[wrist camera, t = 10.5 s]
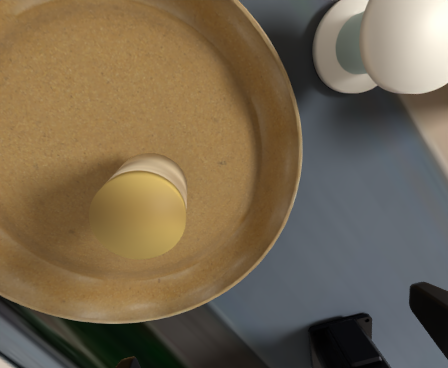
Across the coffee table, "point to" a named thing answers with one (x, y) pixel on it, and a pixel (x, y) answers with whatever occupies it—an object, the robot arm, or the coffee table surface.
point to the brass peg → (141, 207)
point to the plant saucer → (139, 149)
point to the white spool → (383, 46)
